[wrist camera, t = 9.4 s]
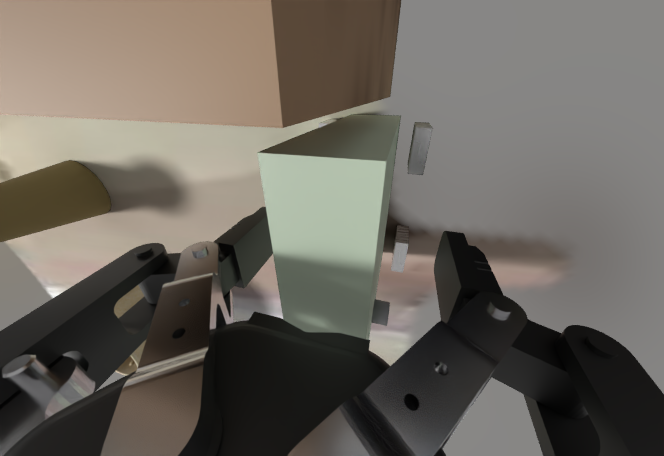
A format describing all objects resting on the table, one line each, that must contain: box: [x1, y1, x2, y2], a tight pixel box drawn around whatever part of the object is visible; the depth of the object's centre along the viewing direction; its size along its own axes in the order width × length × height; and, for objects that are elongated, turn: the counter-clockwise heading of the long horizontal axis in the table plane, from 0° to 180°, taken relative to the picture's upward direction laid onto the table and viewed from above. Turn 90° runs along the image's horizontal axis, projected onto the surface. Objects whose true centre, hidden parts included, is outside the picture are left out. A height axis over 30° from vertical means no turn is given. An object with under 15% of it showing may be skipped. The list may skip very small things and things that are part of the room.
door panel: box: [257, 115, 401, 340], centre depth 12 cm, size 10×4×11 cm, turn 0°
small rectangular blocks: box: [319, 119, 432, 272], centre depth 16 cm, size 9×6×2 cm, turn 179°
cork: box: [0, 160, 111, 242], centre depth 21 cm, size 6×6×11 cm
